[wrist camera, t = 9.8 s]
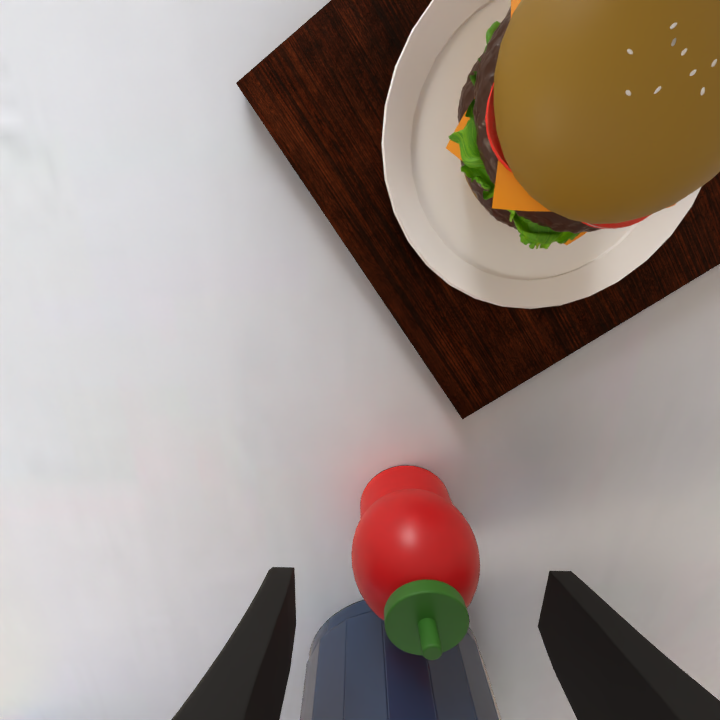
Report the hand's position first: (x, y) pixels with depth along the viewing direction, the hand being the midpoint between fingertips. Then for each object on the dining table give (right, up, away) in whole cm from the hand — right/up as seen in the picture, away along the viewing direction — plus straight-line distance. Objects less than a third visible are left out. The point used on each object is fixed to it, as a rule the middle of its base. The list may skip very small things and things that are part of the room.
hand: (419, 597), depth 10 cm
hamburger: (+3, +13, +1) cm, 13 cm away
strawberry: (0, +1, +4) cm, 4 cm away
